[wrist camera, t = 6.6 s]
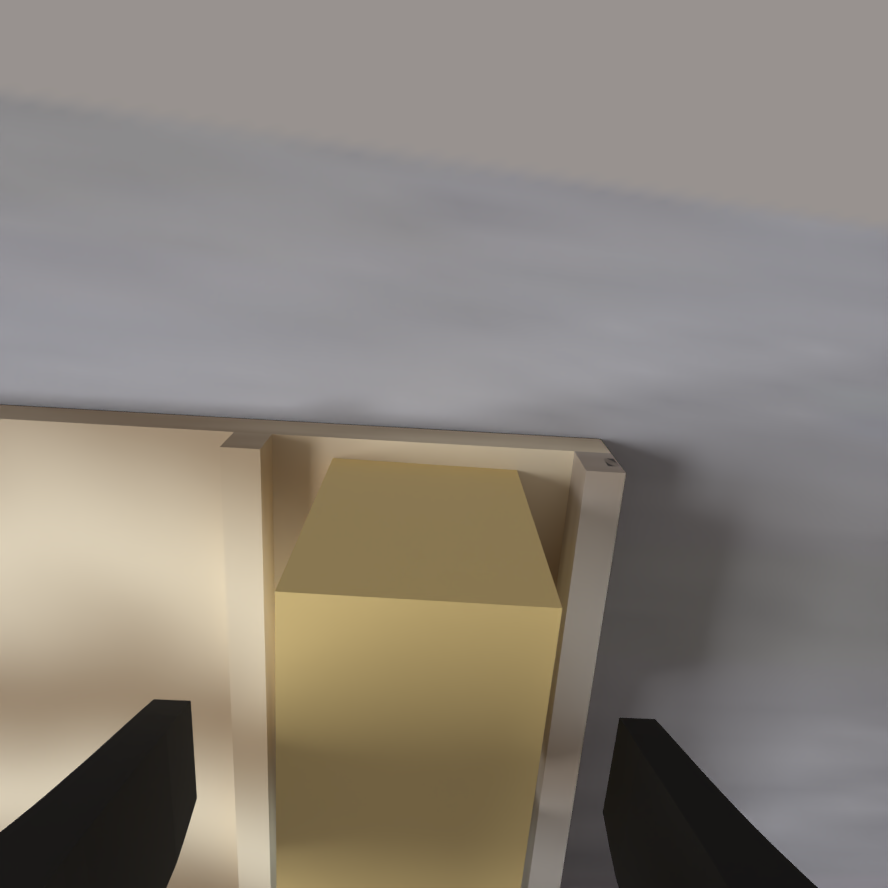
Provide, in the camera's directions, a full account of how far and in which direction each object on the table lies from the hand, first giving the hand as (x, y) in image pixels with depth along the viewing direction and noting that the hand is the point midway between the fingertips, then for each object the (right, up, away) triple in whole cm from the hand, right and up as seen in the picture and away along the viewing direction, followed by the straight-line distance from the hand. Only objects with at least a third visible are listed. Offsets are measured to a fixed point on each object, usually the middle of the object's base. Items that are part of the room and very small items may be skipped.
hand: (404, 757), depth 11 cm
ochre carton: (0, +2, +4) cm, 5 cm away
